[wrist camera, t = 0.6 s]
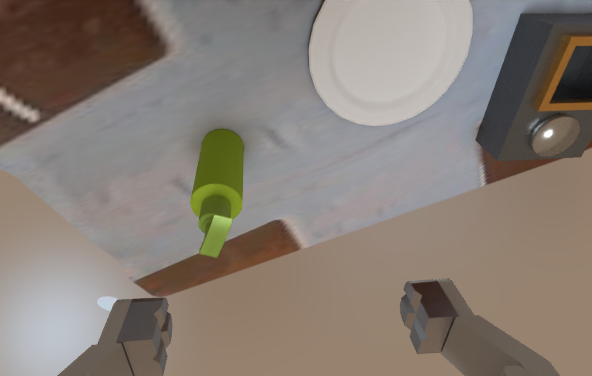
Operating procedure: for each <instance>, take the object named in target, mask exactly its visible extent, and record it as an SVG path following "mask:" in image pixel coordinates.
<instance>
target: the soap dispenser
mask: <svg viewBox="0 0 592 376" xmlns="http://www.w3.org/2000/svg"><path fill="white" fill-rule="evenodd" d="M243 152H244V146H243V142H242V140H241V138H240V137H239V136H238V135H237V134H236V133H234V132H233V131H230V130H227V129H216V130H213V131H211V132H209V133H208V134H207V135H206V136H205V138H204V139H203V142H202V147H201V152H200V157H199V162H198V167H197V171H196V176H195V181H194V186H193V191H192V196H191V201H190V203H191V208H192V210H193V212H194V213H195V214H196V215H197V216H198V217H199V222H198V224H199V228H200V230H201V231H202V232H204V233H205V238H204V241H203V243H202V245H201V248H200V251H199V254H203V255H207V256H212V257H218V255H219V252H220V250H221V248H222V246H223V244H224V242H225V240H226V237H227V235H228V232H229V230H230V227H231V224H232V222H233V219H234V218H235V217H236V216H237V215H238V214H239V213H240V211H241V209H242V198H243Z"/></svg>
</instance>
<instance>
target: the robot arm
mask: <svg viewBox="0 0 592 376" xmlns="http://www.w3.org/2000/svg"><path fill="white" fill-rule="evenodd" d="M404 291H405V293H406V294H405V295H404V296H403V297H402V298H401V303H400V313H401V317H402V320H403V322H404V325H405V326H406V327H408V328H409V329H410V330H411V334H410V338H411V341H412V343H413V345H414V348H415V350H416V352H417V354H424V353H441V352H442V355H443V356H444V357H445V358H446V359H447V360H449V362H451V363H452V364H453V365H454V366H455V367H456V368H457V369H458V370H459V371H460V372H461V373H462V374H463V375H465V376H560V375H559V374H558V372H557V371H556V370H555V369H554V367H553V366H552V364H551V363H550V362H549V361H548V360H546V359H545V358H543V357H542V356H540V355H539V354H537V353H536V352H534V351H533V350H531V349H530V348H528V347H527V346H525V345H524V344H522V343H520V342H519V341H517V340H516V339H514V338H513V337H511V336H510V335H508V334H507V333H505V332H504V331H502V330H500V329H499V328H497V327H496V326H494V325H493V324H491V323H490V322H488V321H487V320H485V319H484V318H482V317H480V316H479V315H474V314H473V312H472V311H471V309H470V308H469V306H468V305H467V303H466V302H465V300H464V299H463V297H462V295H461V294H460V292H459V291H458V289H457V288H456V286H455V285H454V283H453V282H452V280H450V279H449V278H448V279H435V280H433V279H432V280H420V281H408V282H407V283H406V284H405V286H404ZM167 310H168V301H167V299H166V298H141V299H123V300H117V301H116V302H115V303H114V305H113V307H112V310H111V312H110V314H109V317H108V319H107V322H106V324H105V327H104V329H103V332H102V334H101V337H100V339H99V341H98V344H97V345H92V346H91V347H90V348H88V349H87V350H86V351H85V352H84V353H83V354H82V355H80V356H79V357H78V358H77V359H76V360H75V361H74V362H73V363H71V364H70V365H69V366H68V367H67V368H66V369H65V370H63V371H62V372H61V373H60V374H59V375H58V376H163V374H164V370H165V365H166V360H167V353H166V347H167V346H168V345H169V344H170V341H171V337H172V318H171V314H170V313H168V312H167Z"/></svg>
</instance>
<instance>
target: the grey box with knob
mask: <svg viewBox="0 0 592 376" xmlns="http://www.w3.org/2000/svg"><path fill="white" fill-rule="evenodd" d="M591 139H592V14H521V16H520V18H519V21H518V24H517V27H516V29H515V32H514V35H513V38H512V41H511V43H510V46H509V49H508V52H507V54H506V57H505V60H504V63H503V66H502V68H501V71H500V74H499V77H498V79H497V82H496V85H495V88H494V91H493V93H492V96H491V99H490V102H489V104H488V107H487V110H486V113H485V116H484V118H483V121H482V124H481V127H480V129H479V132H478V135H477V138H476V141H477V142H478V143H479V144H480V145H481V146H482V147H483V148H484V149H485V150H486V151H487V152H488V153H489V154H490V155H491V156H492V157H493V158H494V159H495V160H496V161H507V160H529V159H551V158H573V157H581V156H582V154H583V152H584V151H585V149H586V147H587V146H588V144H589V142H590V141H591Z"/></svg>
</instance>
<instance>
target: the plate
mask: <svg viewBox="0 0 592 376" xmlns="http://www.w3.org/2000/svg"><path fill="white" fill-rule="evenodd" d="M472 34H473V10H472V6H471V3H470V0H325V1H324V3H323V5H322V7H321V9H320V11H319V13H318V15H317V18H316V20H315V22H314V24H313V28H312V33H311V38H310V43H309V48H308V49H309V70H310V73H311V76H312V80H313V83H314V86H315V89H316V91H317V92H318V94H319V95H320V97H321V98H322V100H323V101H324V103H325V104H326V105H327V106H328V107H329V108H330V109H331V110H333V111H334V112H335V113H336V114H338V115H339V116H340V117H342V118H344V119H347V120H349V121H351V122H354V123H356V124H362V125H370V126H380V125H389V124H395V123H398V122H401V121H403V120H406V119H409V118H412V117H414V116H415V115H417V114H419V113H420V112H422V111H424V110H425V109H427V108H429V107H430V106H431V105H432V104H433V103H434V102H435V101H437V100H438V99H439V98H440V97H441V96H442V95H443V94H444V93H445V92H446V91H447V90H448V88H449V87H450V85H451V84H452V83H453V81H454V80H455V79H456V77H457V76H458V75H459V73H460V70H461V68H462V66H463V64H464V62H465V60H466V57H467V55H468V52H469V48H470V43H471V39H472Z"/></svg>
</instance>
